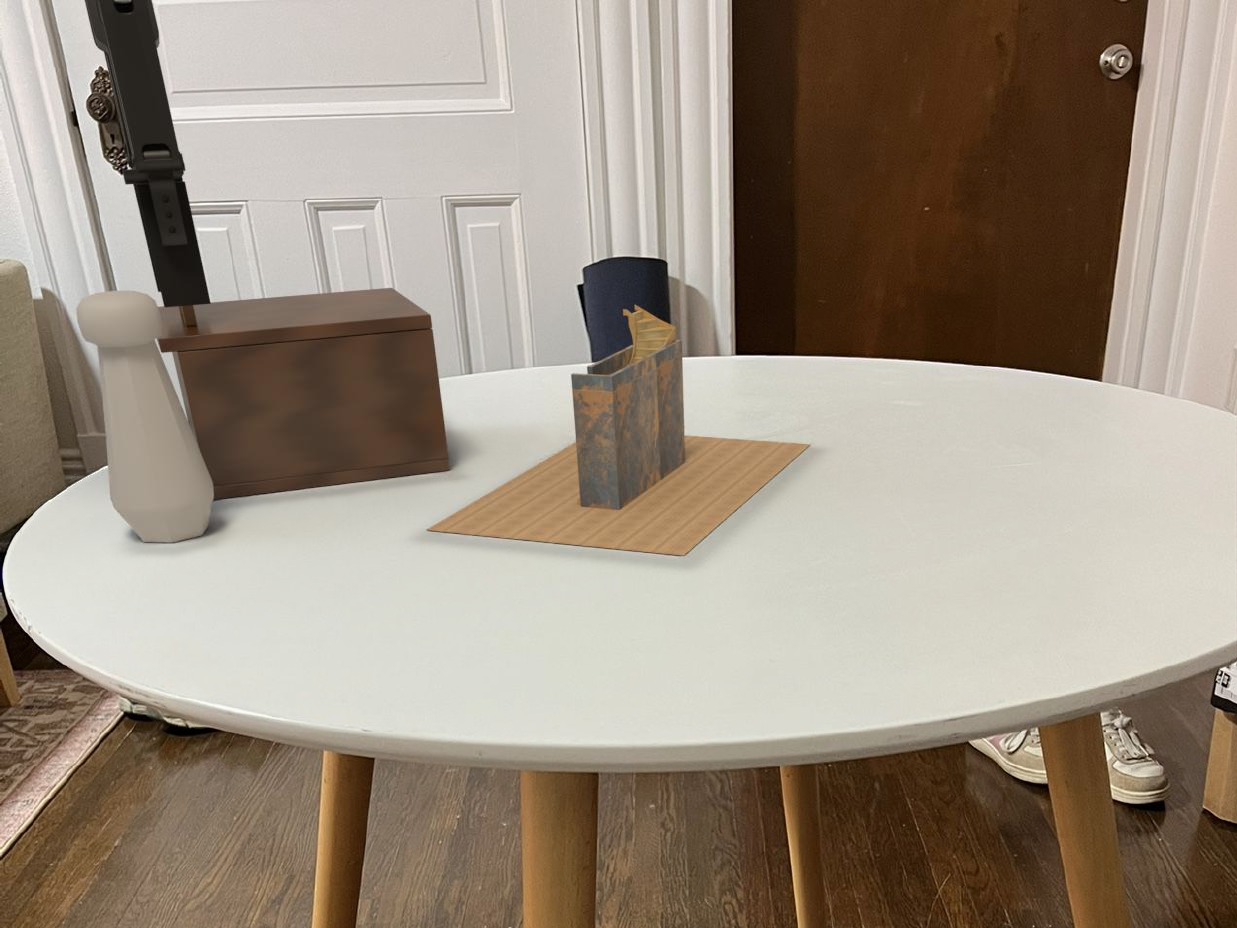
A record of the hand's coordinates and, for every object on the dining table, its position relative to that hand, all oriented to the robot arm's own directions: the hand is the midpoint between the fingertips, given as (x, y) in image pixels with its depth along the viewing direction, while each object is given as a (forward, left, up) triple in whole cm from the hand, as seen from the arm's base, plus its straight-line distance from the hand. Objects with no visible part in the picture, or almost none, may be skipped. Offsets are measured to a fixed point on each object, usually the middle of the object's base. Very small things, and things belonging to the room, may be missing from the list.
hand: (183, 296), depth 83 cm
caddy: (+6, +3, -11) cm, 13 cm away
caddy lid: (+5, +3, -2) cm, 6 cm away
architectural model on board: (+29, -1, -11) cm, 31 cm away
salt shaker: (+3, -13, -11) cm, 17 cm away
